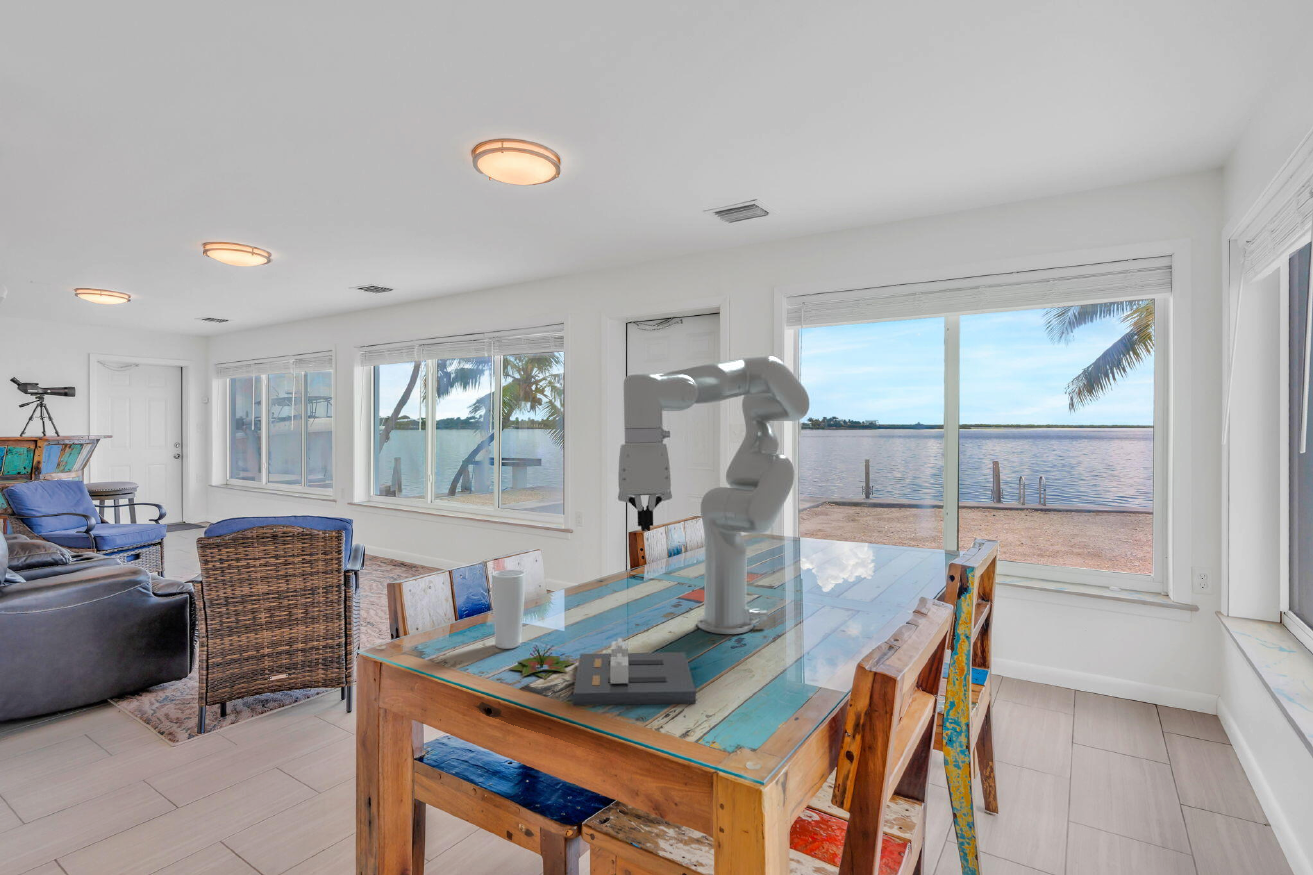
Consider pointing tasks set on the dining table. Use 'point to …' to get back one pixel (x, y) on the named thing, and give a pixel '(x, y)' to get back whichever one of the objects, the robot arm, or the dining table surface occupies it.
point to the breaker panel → (635, 680)
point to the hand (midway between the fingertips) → (645, 529)
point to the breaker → (619, 648)
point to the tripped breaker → (619, 669)
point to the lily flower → (541, 664)
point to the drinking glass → (508, 607)
